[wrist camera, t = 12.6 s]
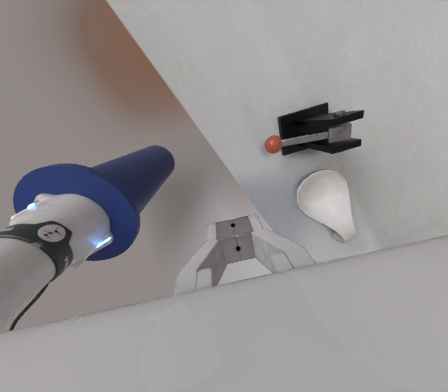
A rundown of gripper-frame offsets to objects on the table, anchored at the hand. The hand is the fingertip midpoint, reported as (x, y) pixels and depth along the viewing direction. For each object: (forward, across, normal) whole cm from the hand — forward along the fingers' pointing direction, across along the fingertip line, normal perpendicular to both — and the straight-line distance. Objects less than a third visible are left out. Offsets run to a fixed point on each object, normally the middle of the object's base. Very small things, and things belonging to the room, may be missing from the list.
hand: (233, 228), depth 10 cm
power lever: (+22, -16, 0) cm, 27 cm away
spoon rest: (+28, -24, +20) cm, 43 cm away
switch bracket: (+29, -19, 0) cm, 34 cm away
